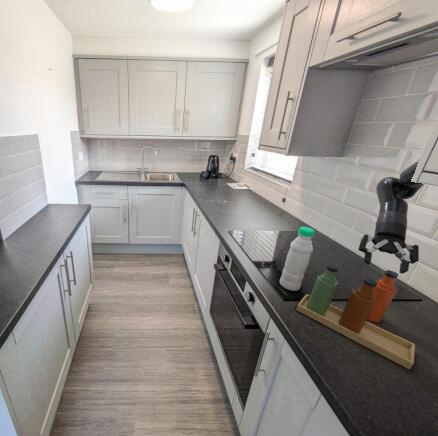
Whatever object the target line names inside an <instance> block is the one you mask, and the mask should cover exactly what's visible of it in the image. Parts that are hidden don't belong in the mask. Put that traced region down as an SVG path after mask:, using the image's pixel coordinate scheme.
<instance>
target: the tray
mask: <svg viewBox="0 0 438 436" xmlns="http://www.w3.org/2000/svg"><path fill="white" fill-rule="evenodd" d="M310 296H311V294H309V293H306V294H305V295H304V296H303V297H302V298H301V300H300V301H299V302H298V304H297V305H296V309H295V310H296V311H297V312H299V313H301V314H302V315H305V316H307V317H309V318H311V319H312V320H315V321H316V322H319V323H320V324H322V325H324V326H326V327H328V328H330V329H331V330H333V331H335V332H337V333H339V334H341V335H342V336H345V337H346V338H348V339H350V340H352V341H354V342H356V343H358V344H360V345H362V346H364V347H366V348H368V349H370V350H371V351H373V352H375V353H377V354H378V355H381V356H383V358H384V357H385V358H386V359H388V360H390V361H392V362H394V363H395V364H398V365H399V366H402V367H404V368H405V369H407V370H411V369H412V368H413V366H414V364H415V351H416V344H415V343H413V342H411V341H409V340H407V339H404V338H403V337H400V336H399V335H396V334H395V333H392V332H390V331H388V330H386V329H383V328H382V327H380V326H377V325H375V324H373V323H371V322H369V321H368V320H366V322H365V324H364V326H363V328H362V330H361V332H360V333H359V334H357V333H355V332H353V331H351V330H349V329H347V328H345V327H343V326H341V325H339V323H338V322H339V319H340V317H341V315H342V313H343V310H344V309H341V308H339V307H336V306H335V305H332V304H331V303H330V304H329V307H328V309H327V312H326V314H325V315H324V316H321V315H319V314H317V313H315V312H313V311H311V310H309V309H307V304H308V301H309V298H310Z"/></svg>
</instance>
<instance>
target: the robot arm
mask: <svg viewBox="0 0 438 436" xmlns="http://www.w3.org/2000/svg"><path fill="white" fill-rule="evenodd" d="M419 160H420V159H417V161H415V162H413V163H412V164H411V165H409V166H408V167H407V168H405V169H404V170H402V172H401V173H400V174H399V177H394V176H386V177H384V178H382V179H380V180H379V181H378V183H377V184H376V190H375V191H376V195H377V200H378V203H379V210H378V216H377V218H376V221H375V229H374V235H373V236H370V235H368V234H366V233H365V234H363V236H361V239H360V242H359V246H358V251H359V252H361V253H364V257H363V262H364V263H365V265H367V266H368V265H370V264H371V262H372V258H373V257H372V256H373V253H374V252H376V251H379V252H380V253H387V254H389V255H394V256H395V257H396V258H397V259H398V260H399V262H400V263H399V264H400V265H399V273H398V274H405V273H407V272H409V269H410V265H411V264H412V265H414V264H416V263H418V262H419V259H420V257H419V256H420V255H419V254H420V253H419V252H420V251H419V250H420V247H419V245H418V244H413V245H412V244H407V243H406V237H407V229H408V228H407V227H408V210H409V204H408V202H407V201H406V200H409V199H411V198H413V197H414V196H416V194H417V193H418V192H419V191H420V189H422V188H423V186H424V185H425V184H422V183H415V182H411V179H412V177H413V175H414V173H415V170H416V167H417V164H418V161H419ZM370 241H371V242H372V244H373V246H371V247H370V248H367V244H368V243H370ZM404 249H406V250H407V252H409V253H408V254H409V255H407V252H406V251H405V250H404Z"/></svg>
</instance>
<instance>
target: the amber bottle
mask: <svg viewBox="0 0 438 436" xmlns="http://www.w3.org/2000/svg"><path fill="white" fill-rule="evenodd" d="M376 281H377V280H375V279H373V278H369V277H364V279H363V280H362V285H361V286H360V287H358V288H355V289H352V291H351V293H350V295H349V298H348V299H347V302H346V303H345V306H344V308H343V309H342V310H343V313H342V315H341V317H340V319H339V322H338V323H339V325H341V326H343V327H345V328H347V329H349V330H351V331H353V332H355V333H357V334H359V333H360V332H361V330H362V328H363V326H364V324H365V322H366V321H368V320H367V318H368V316H369V314H370V312H371V310H372V308H373V306H374V304H375V302H376V298H375V297H374V293H373V290H374V288H375V287H376V286H377V282H376Z"/></svg>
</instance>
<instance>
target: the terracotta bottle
mask: <svg viewBox="0 0 438 436" xmlns="http://www.w3.org/2000/svg"><path fill="white" fill-rule="evenodd" d="M398 277H399V273H397V272H396V271H394V270H389V269H386V270H385V271H384V275H383V277H382V279H378V280H375V281H376V282H377V286H376V287H375V288H374V290H373V293H374V297H375V298H376V302H375V304H374V306H373V308H372V310H371V312H370V314H369V316H368V318H367V320H366V321H368V322H369V321H370V322H372V323H381V321H382V320H383V318H384V316H385V314H386V312H387V311H388V309H389V307H390V305H391V303H392V301H393V299H394V297H395V296H396V294H397V292H398V289H397V288H396V285H395V284H394V283H395V281H396V280H397V278H398Z"/></svg>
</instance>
